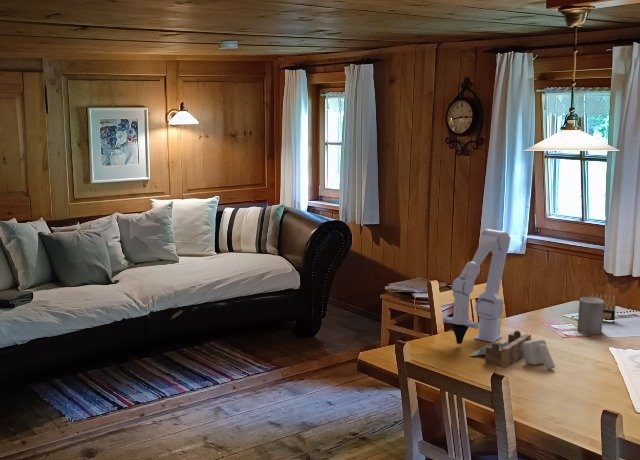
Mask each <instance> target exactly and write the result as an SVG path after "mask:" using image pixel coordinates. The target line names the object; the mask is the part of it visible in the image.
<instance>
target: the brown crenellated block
mask: <svg viewBox="0 0 640 460" xmlns="http://www.w3.org/2000/svg"><path fill="white" fill-rule="evenodd" d="M507 336H508V337H507V342H509V344H508V345H506V346H505V347H503V348H499V345H498V344H497V343H498V342H493V343H494V344H492V346H488V345H487V346H488V347H486V354H485V361H484V363H485V364H486V365H487V364H488V365H491V366H495V367H500V368H505V369H507V368H509V367H510V366H512V365H513V364H514V363H516V362H518V361H519V360H520V359H522V358H524V352H523V343H524V342H525V341H531V340H532V334H529V333H525V334H523V335H522V333H521V331H520V330H517V329H516V330H515V331H514V332H513V333H509V334H508V335H507Z"/></svg>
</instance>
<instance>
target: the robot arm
mask: <svg viewBox="0 0 640 460" xmlns="http://www.w3.org/2000/svg"><path fill="white" fill-rule="evenodd" d="M510 241H511V237H510V235H509V233H508V232H507V231H505V230H504V231H502V230H497V229H496V230H495V229H490V228H485V229H484V230H483V231H482V233H481V235H480V236H479V242H480V243H479V245H478V248H477V249H476V251H475V253H474V255H473V258H472V260H471V261H469V262H467V263H466V264H465V266H464V268H463V270H462V271H461V273H460V275H459V276H458V277H456V278H455V279H454V280H453V281H452V284H451V286H450V288H451V291H452V295H453V315H452V317H451V316H443V317H442V323H448V324H452V325H451V329H452V331H453V333H454V336H455V339H456V344H457V345H462V344H463V342H464V338H465V335H466V333H467V332H468V330H469V328H471V329H475V330H478V335H476V336H474V337H473V338H474V339H476V340H481V341H486V342H488V343H495V342H496V341H497V340H500V339H501V338H502V337H503V335H501V319H500V317H501V316H502V315H503V313H504V312H503V311H504V300H503V299H502V297H501V296H500V294H499V293H500V290H501V289H500V288H501V283H502V278H503V275H504V268H505V262H506V258H507V254H508V251H509V249H510V248H509V247H510V243H511V242H510ZM490 252H491V254H492V256H491V261H490V266H489V270H488V274H487V280H486V285H485V290H484V292H483V293H482V292H481V294H479V295H478V298H477V301H476V303H475V312H476V313H477V316H478V317H479V318H478V319H479V321H478V322H476V321H473V320H470V319H469V316H470V315H469V311H470V295H471V293H472V292H473V291H474V286H475V283H476V282H475V281H476V279H477V277H478V276H479V273H480V272H481V265H482V263H483V262H484V260H485V259H486V257H487V256H488V254H489V253H490Z"/></svg>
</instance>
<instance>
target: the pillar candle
mask: <svg viewBox="0 0 640 460" xmlns="http://www.w3.org/2000/svg"><path fill="white" fill-rule="evenodd" d="M578 305H579V306H578V318H577V329H578V330H577V332H579V331H580V332H579V333H581V332H583V333H582V334H584V333H587V334H586V335H590V334H593V335H600V333H601V334H602V331H603V322H604V321H603V307H604V299H603V298H602V299H600V297H598V298H596V296H594V297H591V296H583V297H580V298H579V304H578Z"/></svg>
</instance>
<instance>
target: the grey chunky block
mask: <svg viewBox="0 0 640 460" xmlns="http://www.w3.org/2000/svg"><path fill="white" fill-rule="evenodd" d="M523 352H524V357H523V361H524V363H525V364H526V365H532V366H533V365H539V364H544V366H545V368H546V370H551V369H554V368H556V365H555V363H554V361H553V358H552V355H551V353H550V351H549V348H548V346H547V342H546V340H543V339H533V340H532V339H531V341H525V342H524V343H523Z"/></svg>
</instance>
